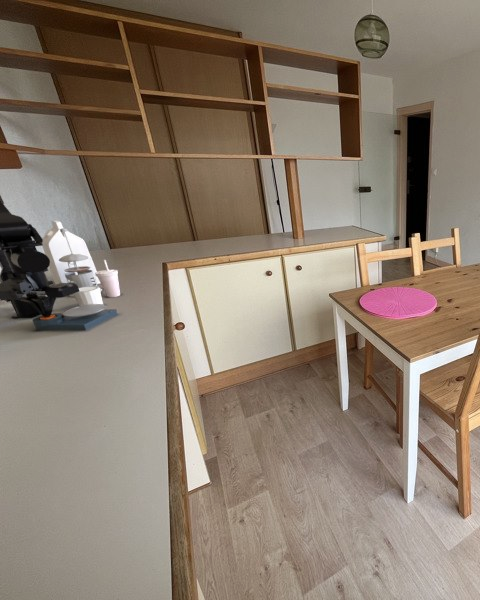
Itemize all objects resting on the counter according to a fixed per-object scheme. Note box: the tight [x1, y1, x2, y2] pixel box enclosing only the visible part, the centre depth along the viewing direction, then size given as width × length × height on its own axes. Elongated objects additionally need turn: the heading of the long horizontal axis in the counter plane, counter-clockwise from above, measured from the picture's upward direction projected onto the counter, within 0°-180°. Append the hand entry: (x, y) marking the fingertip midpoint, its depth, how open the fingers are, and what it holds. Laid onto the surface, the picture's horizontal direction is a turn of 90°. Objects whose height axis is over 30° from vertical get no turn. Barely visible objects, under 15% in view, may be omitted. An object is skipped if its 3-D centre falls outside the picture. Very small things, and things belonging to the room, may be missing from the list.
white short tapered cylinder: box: [74, 285, 104, 306], centre depth 108 cm, size 7×7×7 cm
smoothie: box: [95, 259, 121, 298], centre depth 118 cm, size 6×6×14 cm
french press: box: [59, 227, 103, 298], centre depth 119 cm, size 10×12×25 cm
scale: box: [32, 308, 118, 331], centre depth 98 cm, size 14×13×4 cm
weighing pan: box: [62, 303, 107, 317], centre depth 98 cm, size 10×10×1 cm
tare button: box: [40, 315, 56, 320], centre depth 94 cm, size 3×3×2 cm
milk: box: [41, 220, 101, 285], centre depth 128 cm, size 12×12×26 cm
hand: (47, 316), depth 93 cm, fingers closed, pressing on tare button
